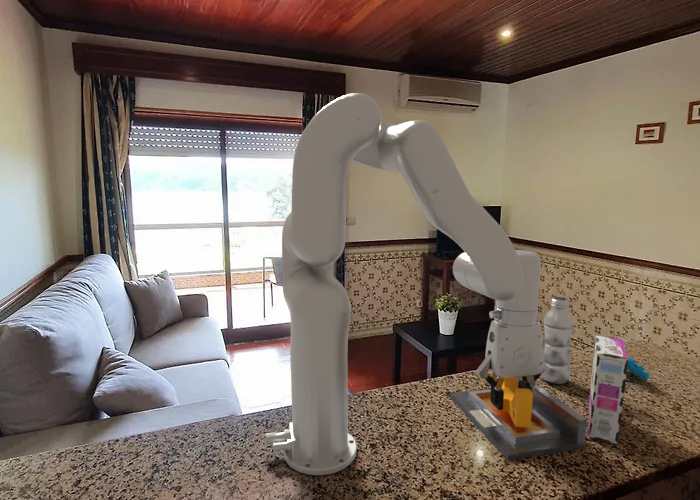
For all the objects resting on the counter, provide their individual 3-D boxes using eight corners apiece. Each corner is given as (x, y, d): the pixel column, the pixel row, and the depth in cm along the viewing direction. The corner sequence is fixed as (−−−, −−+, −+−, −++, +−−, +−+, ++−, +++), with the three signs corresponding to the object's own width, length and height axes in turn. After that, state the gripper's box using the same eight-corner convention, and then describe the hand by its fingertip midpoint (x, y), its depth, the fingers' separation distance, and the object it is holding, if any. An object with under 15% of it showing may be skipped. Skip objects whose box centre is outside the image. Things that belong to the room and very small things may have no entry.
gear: (661, 381, 97) (630, 350, 97) (642, 399, 97) (611, 369, 97) (628, 367, 108) (601, 339, 108) (612, 383, 108) (584, 356, 108)
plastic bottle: (536, 382, 100) (542, 299, 97) (542, 372, 106) (547, 293, 102) (566, 390, 96) (573, 304, 93) (571, 379, 102) (578, 297, 99)
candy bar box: (620, 446, 76) (629, 358, 73) (588, 438, 78) (596, 353, 76) (616, 416, 85) (624, 338, 83) (587, 410, 88) (594, 334, 85)
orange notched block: (491, 394, 89) (492, 365, 88) (512, 395, 89) (514, 366, 88) (505, 426, 78) (507, 392, 77) (530, 427, 77) (532, 394, 76)
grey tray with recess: (507, 460, 72) (509, 430, 71) (450, 397, 93) (450, 373, 92) (584, 448, 75) (586, 419, 74) (511, 390, 96) (513, 367, 96)
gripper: (485, 325, 75) (480, 420, 78) (568, 318, 79) (561, 409, 82) (464, 312, 83) (461, 400, 85) (542, 307, 86) (536, 391, 89)
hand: (510, 404), depth 84 cm, fingers closed on orange notched block, 5 cm apart
